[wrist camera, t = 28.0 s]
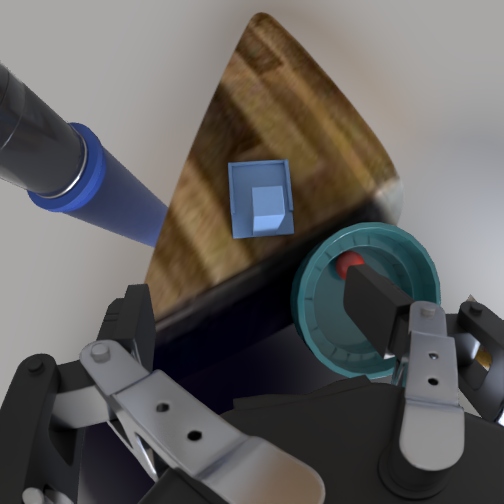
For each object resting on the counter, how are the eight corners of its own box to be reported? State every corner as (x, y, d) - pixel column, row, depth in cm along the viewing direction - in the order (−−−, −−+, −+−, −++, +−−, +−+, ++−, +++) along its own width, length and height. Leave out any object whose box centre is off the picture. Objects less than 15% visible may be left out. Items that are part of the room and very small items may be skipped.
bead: (329, 254, 32) (333, 256, 35) (337, 284, 32) (341, 284, 35) (359, 245, 31) (361, 248, 34) (367, 276, 31) (368, 276, 34)
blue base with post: (293, 234, 35) (312, 213, 25) (233, 238, 35) (225, 219, 24) (286, 162, 36) (299, 116, 25) (228, 165, 36) (220, 121, 25)
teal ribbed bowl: (294, 372, 34) (302, 389, 28) (284, 236, 35) (291, 226, 29) (415, 353, 34) (441, 363, 28) (408, 228, 36) (433, 219, 30)
